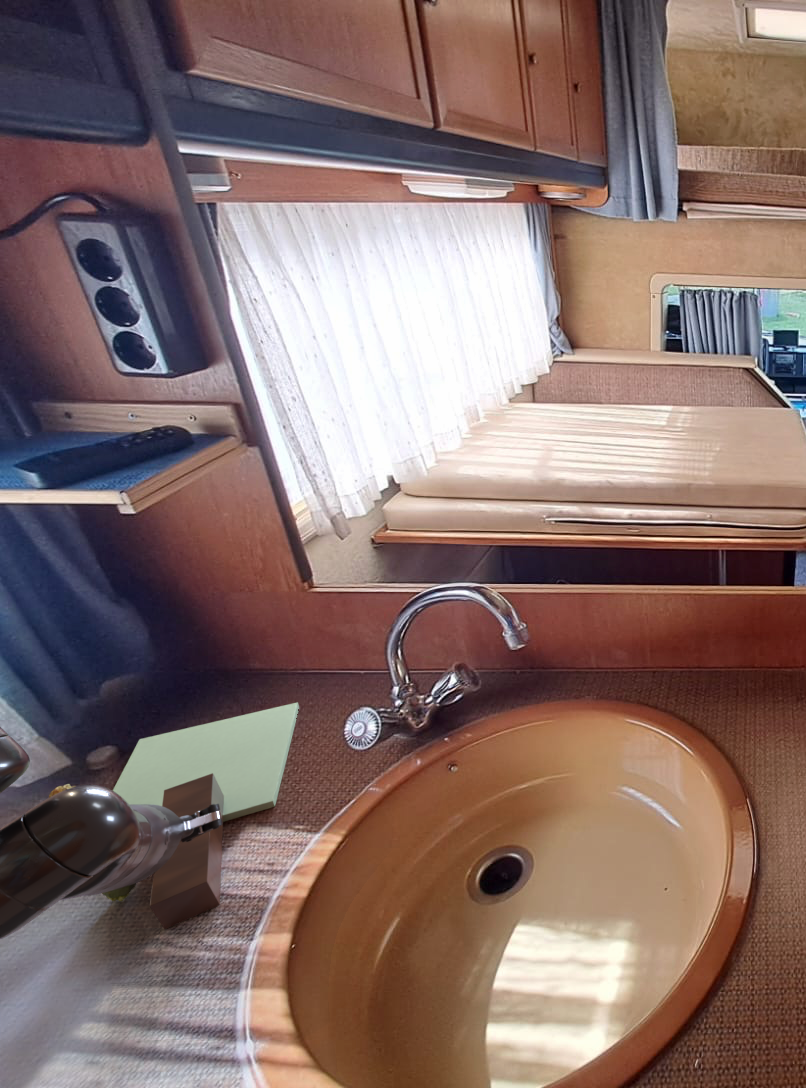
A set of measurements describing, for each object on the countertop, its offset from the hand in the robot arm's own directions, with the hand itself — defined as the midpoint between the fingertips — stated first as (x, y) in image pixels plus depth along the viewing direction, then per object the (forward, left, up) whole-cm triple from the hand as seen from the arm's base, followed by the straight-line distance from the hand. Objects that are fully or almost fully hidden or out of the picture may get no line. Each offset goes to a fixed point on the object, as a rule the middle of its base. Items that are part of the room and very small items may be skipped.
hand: (168, 839), depth 73 cm
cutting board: (-4, +23, -11) cm, 26 cm away
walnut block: (0, -3, -8) cm, 9 cm away
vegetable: (-7, +4, -11) cm, 14 cm away
